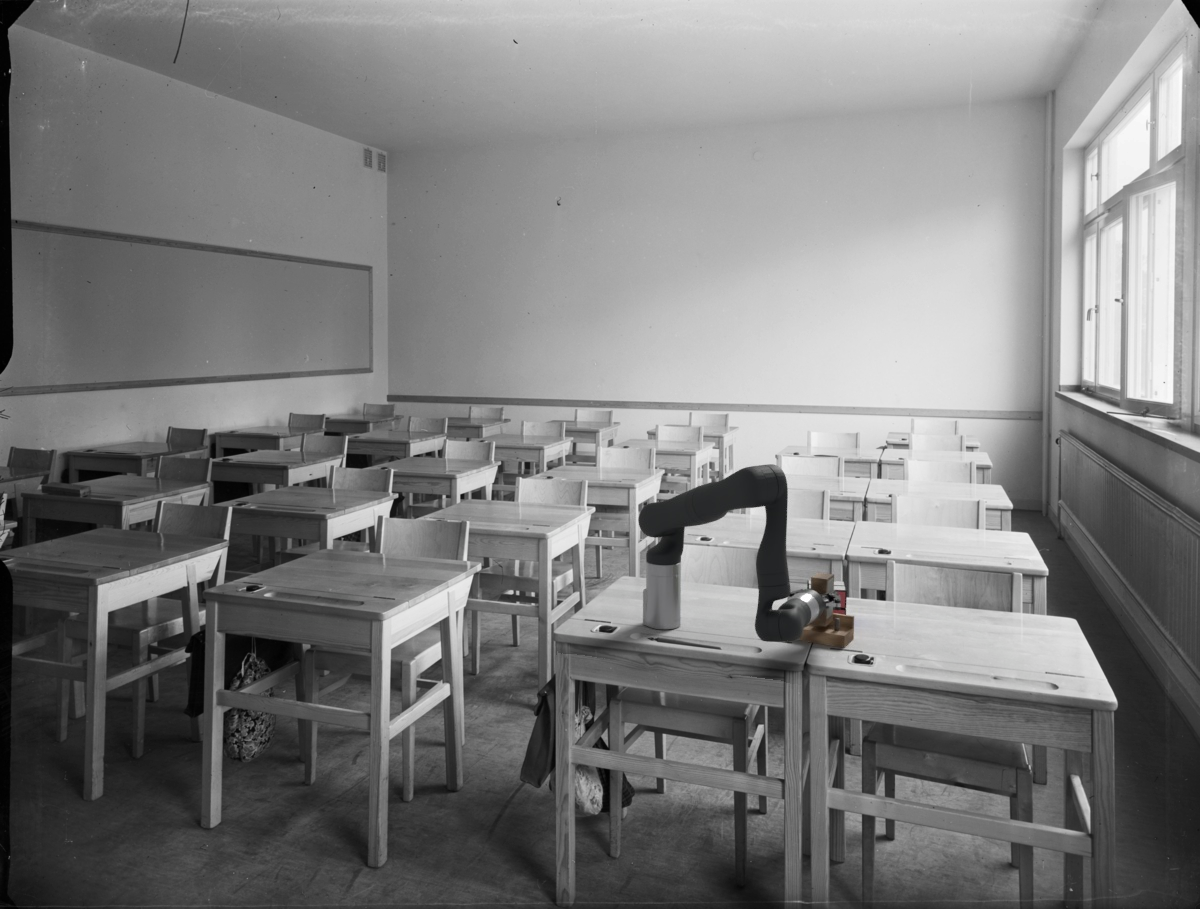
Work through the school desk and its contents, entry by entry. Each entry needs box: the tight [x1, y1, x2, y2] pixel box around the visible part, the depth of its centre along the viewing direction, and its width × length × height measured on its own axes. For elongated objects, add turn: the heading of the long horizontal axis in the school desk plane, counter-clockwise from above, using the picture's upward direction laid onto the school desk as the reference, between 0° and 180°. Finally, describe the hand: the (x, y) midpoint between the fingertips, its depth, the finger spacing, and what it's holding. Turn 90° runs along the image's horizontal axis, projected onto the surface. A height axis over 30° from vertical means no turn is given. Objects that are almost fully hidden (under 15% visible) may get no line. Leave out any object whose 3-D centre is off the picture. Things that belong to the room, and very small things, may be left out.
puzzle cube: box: [806, 579, 848, 615], centre depth 248 cm, size 10×10×10 cm
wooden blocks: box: [810, 572, 835, 627], centre depth 231 cm, size 4×6×12 cm, turn 149°
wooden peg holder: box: [797, 613, 855, 649], centre depth 233 cm, size 14×8×6 cm, turn 59°
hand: (825, 592), depth 234 cm, fingers closed on wooden blocks, 4 cm apart
